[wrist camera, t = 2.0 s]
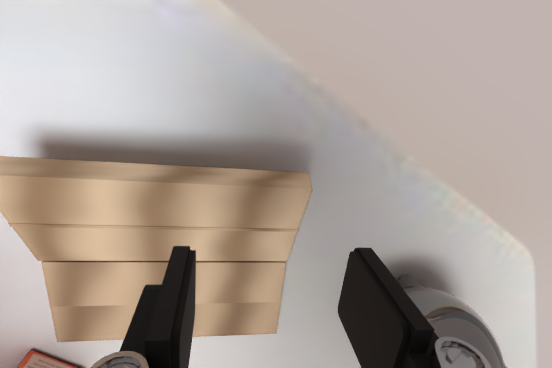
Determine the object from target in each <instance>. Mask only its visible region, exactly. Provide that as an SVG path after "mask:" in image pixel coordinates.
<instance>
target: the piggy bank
mask: <svg viewBox="0 0 552 368" xmlns="http://www.w3.org/2000/svg"><path fill="white" fill-rule="evenodd" d="M398 283H399V284H400V286H401V287H402V288H403V290H404V291H405V292H406V293H407V295H408V296H409V297H410V299H411V300H412V301H413V302H414V304H415V305H416V306H417V308H418V309H419V310H420V311H421V313H422V314H423V315H424V317H425V318H426V319H427V320H428V322H429V323H430V324H431V326H432V327H433V328H434V329H435V330H434V332H435V333H436V335H437V336H438V337H439V338H440V337H446V336H448V337H455V338H458V339H461V340H463V341H465V342H467V343H469V344H471V345H472V346H473V347H475V348H476V349H477V350H479V351H480V352H481V353H482V354H483V355H484V356H485V358H486V359H487V361H488V362H489V364H490V366H491V368H508V367H506V365H505V363H504V360H503V356H502V353H501V350H500V348H499V345H498V343H497V341H496V339H495V337H494V335H493V333H492V332H491V330H490V329H489V327H488V326H487V324H486V323H485V322H484V321H483V319H482V318H481V317H480V316H479V315H478V314H477V313H476V312H475V311H474V310H473V309H472V308H471V307H469V306H468V305H467V304H466V303H464V302H463V301H461V300H460V299H458V298H456V297H455V296H453V295H451V294H449V293H446V292H444V291H441V290H438V289H434V288H429V287H423V286H421V285H420V283H419V282H418V281H417V280H416V279H415V278H414V277H412V276H410V275H404V276H401V277H400V278H399V280H398Z"/></svg>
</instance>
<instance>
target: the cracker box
mask: <svg viewBox="0 0 552 368" xmlns="http://www.w3.org/2000/svg"><path fill="white" fill-rule="evenodd" d="M17 368H77V367H74V366H72V365H69V364H67V363H64V362H61V361H59V360H56V359H54V358H51V357H48V356H46V355H43V354H40V353H38V352H35V351H33V350H31V351H30V352H29V353H28V354H27V355H26V357H25V358H24V359H23V361H22V362H21V363H20V364H19V366H18V367H17Z"/></svg>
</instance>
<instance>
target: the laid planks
mask: <svg viewBox="0 0 552 368" xmlns="http://www.w3.org/2000/svg"><path fill="white" fill-rule="evenodd" d="M168 262H169V261H42V267H43V272H44V277H45V283H46V288H47V293H48V298H49V303H50V308H51V313H52V318H53V323H54V329H55V334H56V339H57V342H71V341H97V340H123V339H124V338H125V336H126V333H127V330H128V328H129V325H130V322H131V320H132V317H133V315H134V312H135V309H136V307H137V304H138V302H139V299H140V296H141V294H142V291H143V289H144V287H145V285H154V284H162V282H163V279H164V276H165V272H166V269H167V266H168ZM285 267H286V261H196V290H195V320H194V328H193V335H192V337H200V336H226V335H252V334H276V333H277V326H278V318H279V311H280V304H281V296H282V289H283V282H284V274H285Z"/></svg>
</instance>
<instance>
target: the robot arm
mask: <svg viewBox="0 0 552 368" xmlns="http://www.w3.org/2000/svg"><path fill="white" fill-rule="evenodd" d="M195 290H196V250H190V246H173V249H172V253H171V256H170V259H169V262H168V266H167V269H166V272H165V276H164V279H163V282H162V284H154V285H145V287H144V289H143V291H142V294H141V296H140V299H139V302H138V304H137V307H136V309H135V312H134V315H133V317H132V320H131V322H130V325H129V328H128V330H127V333H126V336H125V338H124V341H123V343H122V346H121V349H120V351H119V352H115V353H112V354H110V355H108V356H105V357H103V358H102V359H100V360H99V361H97V362H96V363H95V364H94V365H93V366H92V367H91V368H188V365H189V358H190V350H191V343H192V335H193V328H194V320H195ZM338 314H339V317H340V320H341V322H342V324H343V326H344V329H345V331H346V333H347V336H348V338H349V340H350V342H351V345H352V347H353V349H354V352H355V354H356V356H357V358H358V361H359V363H360V365H361V368H491V366H490V364H489V362H488V361H487V359H486V358H485V356H484V355H483V354H482V353H481V352H480V351H479V350H477V349H476V348H475V347H473V346H472V345H471V344H469V343H467V342H465V341H463V340H461V339H458V338H455V337H448V336H446V337H440V338H439V337H438V336H437V335H436V333H435V332H434V330H435V329H434V328H433V327H432V326H431V324H430V323H429V322H428V320H427V319H426V318H425V317H424V315H423V314H422V313H421V311H420V310H419V309H418V308H417V306H416V305H415V304H414V302H413V301H412V300H411V299H410V297H409V296H408V295H407V293H406V292H405V291H404V290H403V288H402V287H401V286H400V284H399V283H398V282H397V281H396V279H395V278H394V277H393V275H392V274H391V273H390V271H389V270H388V269H387V268H386V266H385V265H384V264H383V262H382V261H381V260H380V259H379V257H378V256H377V255H376V253H375V252H374V251H373V250H372V249H371V248H355V250H354V251H352V252H350V254H349V259H348V263H347V268H346V272H345V277H344V281H343V286H342V291H341V295H340V300H339V304H338Z"/></svg>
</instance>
